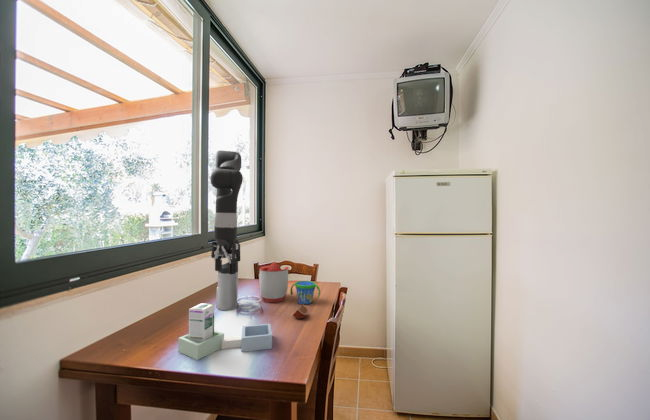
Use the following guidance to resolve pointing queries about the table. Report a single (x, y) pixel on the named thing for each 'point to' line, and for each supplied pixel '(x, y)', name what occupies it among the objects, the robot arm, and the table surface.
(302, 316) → the fruit slice
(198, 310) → the syrup box
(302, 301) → the snack cup
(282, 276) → the citrus juicer
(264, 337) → the holder caddy
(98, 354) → the table surface
